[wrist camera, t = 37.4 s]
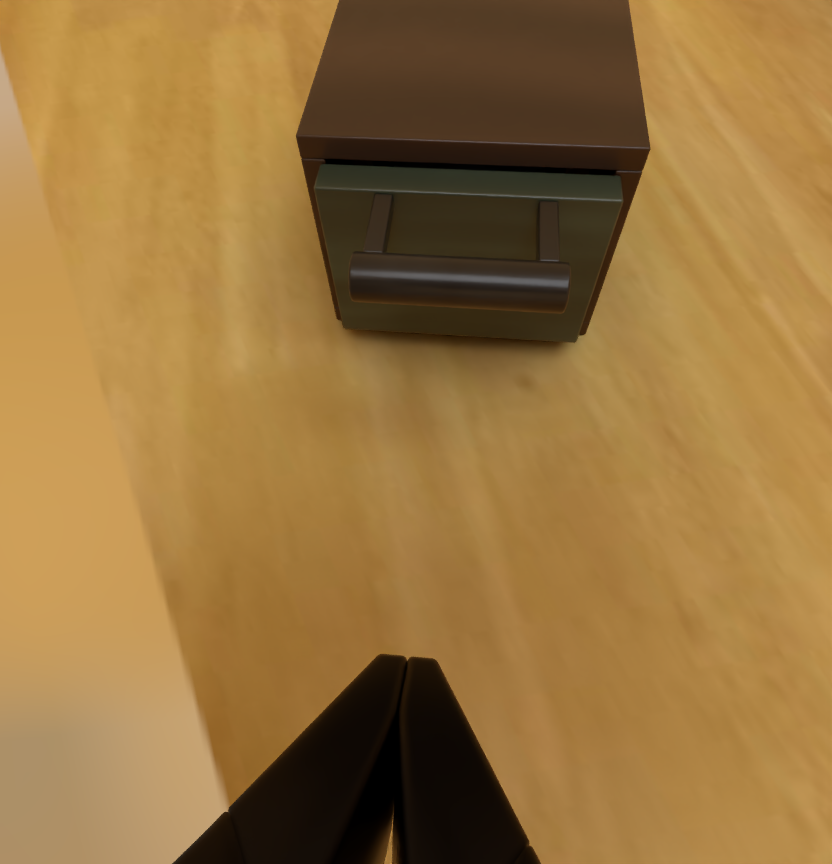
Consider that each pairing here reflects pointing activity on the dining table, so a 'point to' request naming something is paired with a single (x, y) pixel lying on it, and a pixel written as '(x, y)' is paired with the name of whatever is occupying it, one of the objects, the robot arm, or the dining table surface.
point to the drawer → (466, 247)
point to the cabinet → (479, 92)
